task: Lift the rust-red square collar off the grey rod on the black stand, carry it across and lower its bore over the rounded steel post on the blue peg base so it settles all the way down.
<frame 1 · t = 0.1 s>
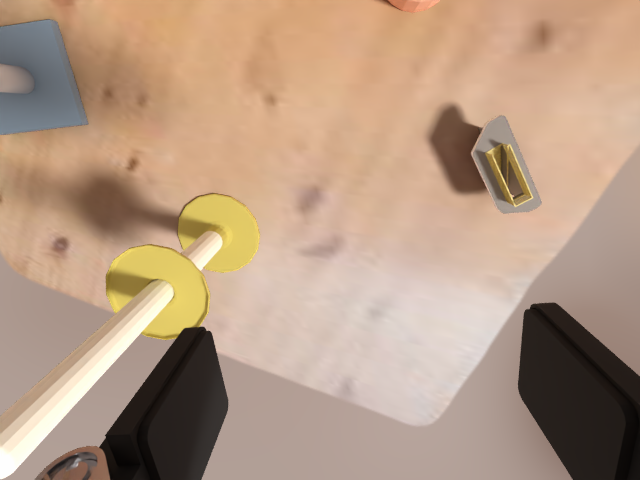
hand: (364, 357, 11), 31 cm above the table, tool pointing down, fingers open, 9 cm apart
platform: (484, 164, 39), on the table
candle: (219, 233, 43), on the table
blue peg base: (30, 81, 39), on the table
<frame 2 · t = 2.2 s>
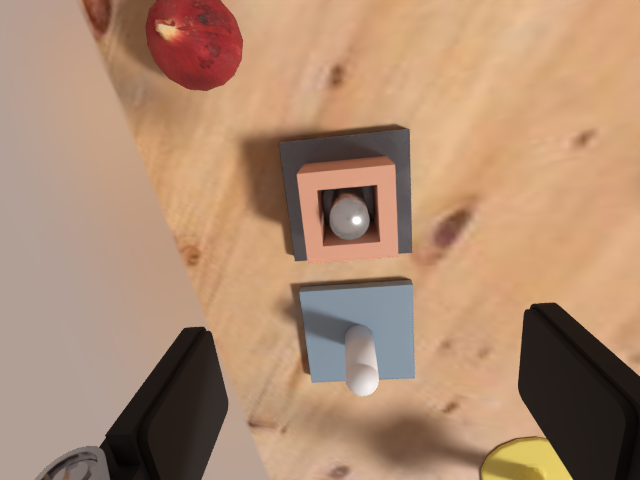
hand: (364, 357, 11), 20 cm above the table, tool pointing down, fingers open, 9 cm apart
onion: (216, 51, 27), on the table
stand: (347, 197, 30), on the table
collar: (348, 199, 29), point 1 cm above the table, touching stand
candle: (526, 470, 39), on the table
blue peg base: (358, 330, 34), on the table
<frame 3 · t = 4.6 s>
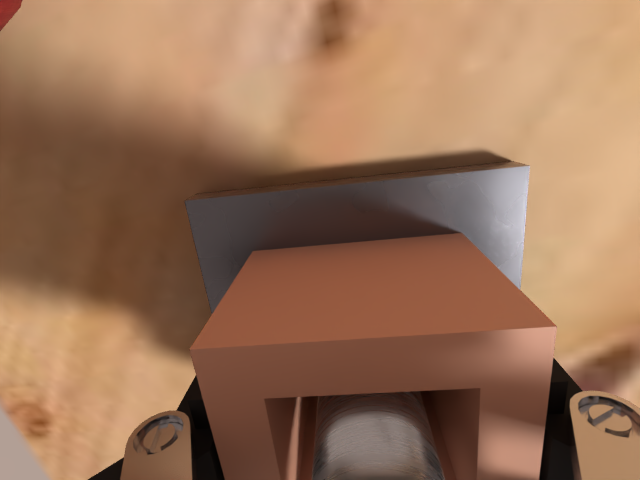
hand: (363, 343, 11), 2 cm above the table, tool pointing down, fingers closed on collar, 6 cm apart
stand: (360, 315, 13), on the table
collar: (362, 331, 12), point 1 cm above the table, touching gripper, stand
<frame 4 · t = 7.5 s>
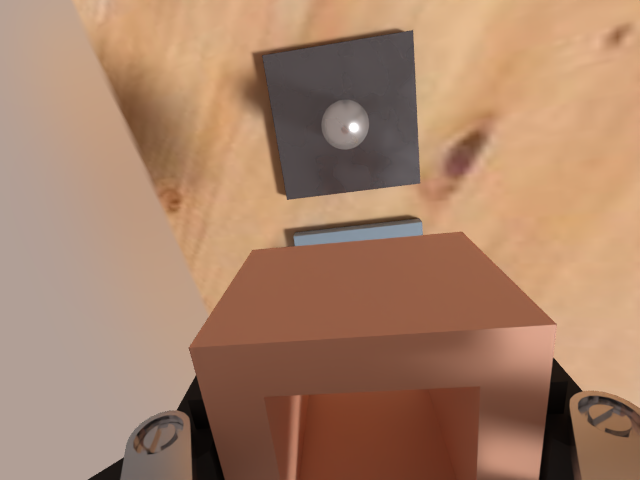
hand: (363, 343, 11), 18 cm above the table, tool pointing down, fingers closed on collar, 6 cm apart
stand: (344, 121, 26), on the table
collar: (362, 330, 12), point 17 cm above the table, touching gripper
blue peg base: (362, 281, 30), on the table
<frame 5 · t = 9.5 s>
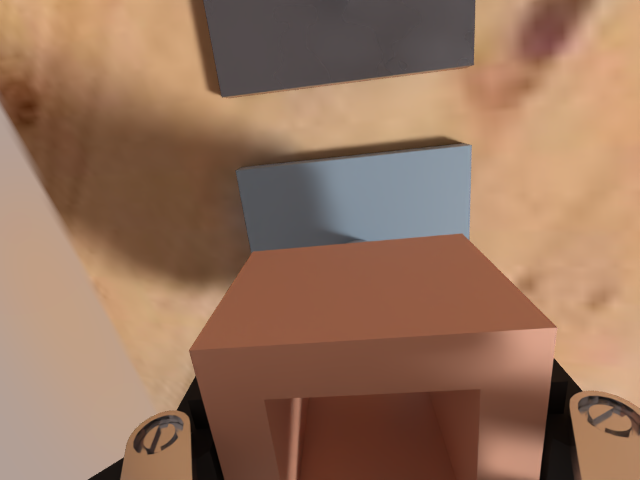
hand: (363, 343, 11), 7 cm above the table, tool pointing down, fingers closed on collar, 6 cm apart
collar: (362, 332, 12), point 6 cm above the table, touching gripper
blue peg base: (358, 257, 18), on the table
when the fingers open (3 cm above the table, at t = 10.8 s): collar stays where it is, resting on blue peg base.
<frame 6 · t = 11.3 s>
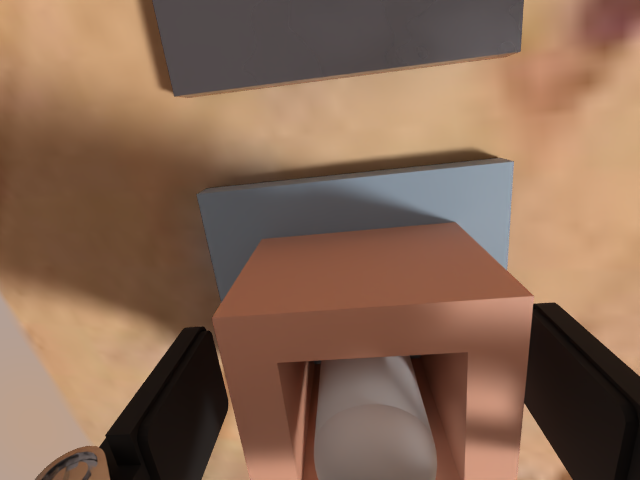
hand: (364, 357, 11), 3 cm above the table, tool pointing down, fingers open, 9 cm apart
collar: (363, 315, 13), point 1 cm above the table, touching blue peg base
blue peg base: (359, 302, 14), on the table
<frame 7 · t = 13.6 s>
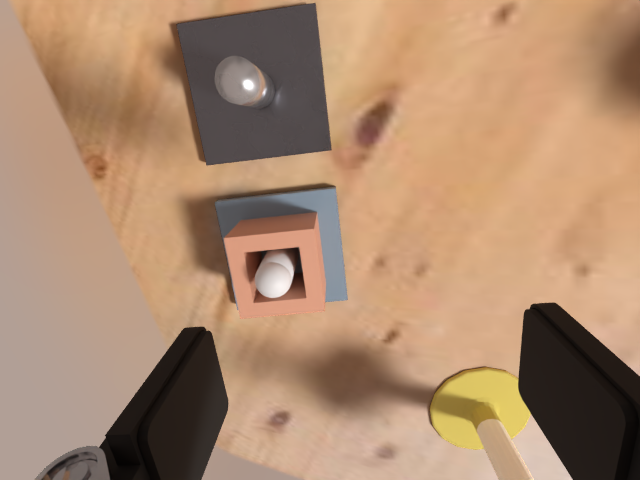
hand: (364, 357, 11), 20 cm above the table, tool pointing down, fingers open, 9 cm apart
stand: (259, 91, 28), on the table
collar: (284, 252, 31), point 1 cm above the table, touching blue peg base
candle: (479, 407, 36), on the table
blue peg base: (285, 249, 32), on the table
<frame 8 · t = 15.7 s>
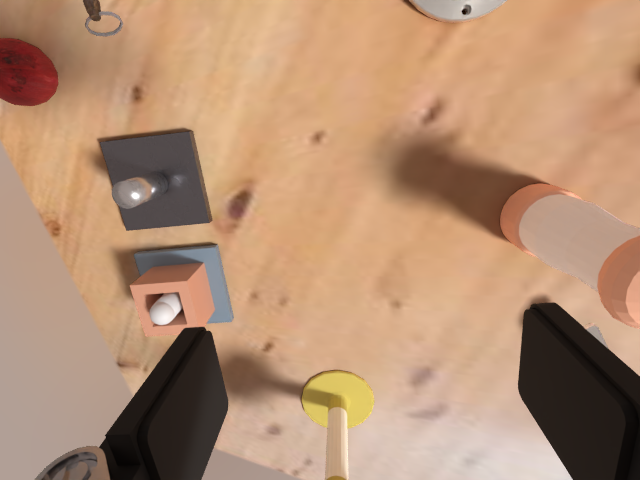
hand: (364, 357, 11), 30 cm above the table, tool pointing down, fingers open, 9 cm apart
onion: (50, 77, 38), on the table
stand: (160, 182, 41), on the table
collar: (184, 288, 44), point 1 cm above the table, touching blue peg base
salt shaker: (533, 215, 40), on the table
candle: (337, 398, 50), on the table
blue peg base: (187, 285, 45), on the table
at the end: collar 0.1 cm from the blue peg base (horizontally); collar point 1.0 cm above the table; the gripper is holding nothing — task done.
